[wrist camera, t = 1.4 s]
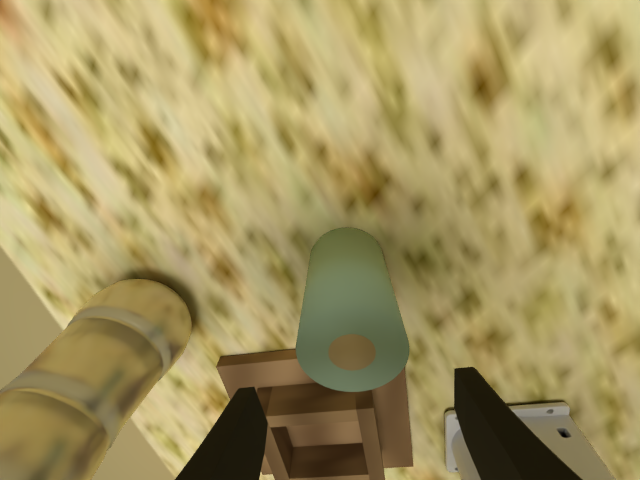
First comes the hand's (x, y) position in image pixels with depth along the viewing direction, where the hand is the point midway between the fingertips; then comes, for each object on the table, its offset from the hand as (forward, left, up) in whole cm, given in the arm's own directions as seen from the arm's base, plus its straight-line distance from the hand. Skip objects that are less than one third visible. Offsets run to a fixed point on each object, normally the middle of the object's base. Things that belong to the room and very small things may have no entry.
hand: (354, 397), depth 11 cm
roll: (0, 0, -10) cm, 10 cm away
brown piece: (+4, +14, -10) cm, 18 cm away
